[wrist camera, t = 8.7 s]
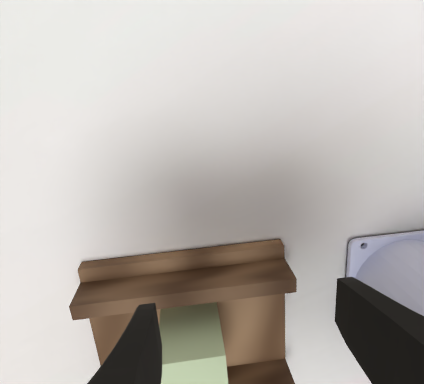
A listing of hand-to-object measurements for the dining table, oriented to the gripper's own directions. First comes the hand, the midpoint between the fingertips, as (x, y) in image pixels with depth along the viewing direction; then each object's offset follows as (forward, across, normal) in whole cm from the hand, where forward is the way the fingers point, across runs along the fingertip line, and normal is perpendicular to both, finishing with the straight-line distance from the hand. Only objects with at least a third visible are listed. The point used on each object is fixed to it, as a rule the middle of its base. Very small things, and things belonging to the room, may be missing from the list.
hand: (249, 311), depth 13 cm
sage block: (+9, +3, +8) cm, 13 cm away
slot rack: (+10, +3, +13) cm, 17 cm away
